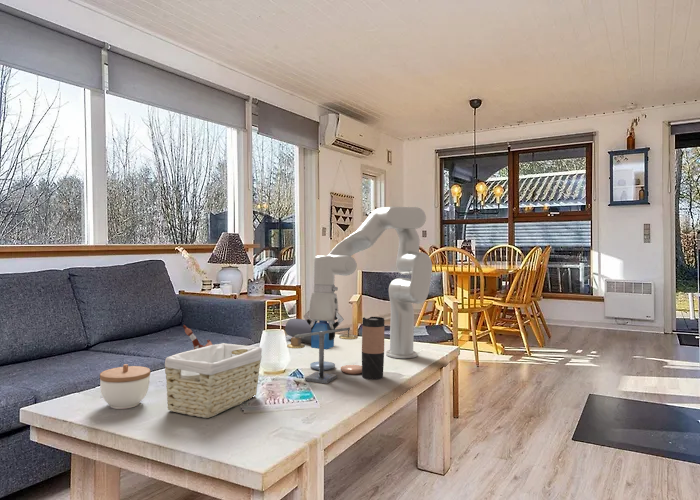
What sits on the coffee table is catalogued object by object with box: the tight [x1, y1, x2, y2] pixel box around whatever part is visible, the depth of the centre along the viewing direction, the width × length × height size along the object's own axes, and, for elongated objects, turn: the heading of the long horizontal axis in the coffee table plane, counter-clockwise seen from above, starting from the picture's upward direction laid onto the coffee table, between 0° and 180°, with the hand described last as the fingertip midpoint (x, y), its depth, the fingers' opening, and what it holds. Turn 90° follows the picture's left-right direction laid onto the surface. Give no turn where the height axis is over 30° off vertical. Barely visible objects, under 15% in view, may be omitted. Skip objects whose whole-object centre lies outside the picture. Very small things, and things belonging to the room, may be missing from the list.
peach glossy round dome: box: [340, 364, 362, 375], centre depth 173 cm, size 9×9×1 cm
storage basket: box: [164, 342, 263, 419], centre depth 136 cm, size 24×16×15 cm
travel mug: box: [361, 316, 385, 381], centre depth 167 cm, size 8×8×20 cm
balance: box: [286, 326, 359, 385], centre depth 163 cm, size 8×25×18 cm, turn 68°
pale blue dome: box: [309, 360, 336, 371], centre depth 178 cm, size 9×9×1 cm
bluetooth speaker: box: [284, 318, 319, 345], centre depth 224 cm, size 23×9×10 cm, turn 46°
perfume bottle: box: [310, 321, 335, 350], centre depth 178 cm, size 6×6×12 cm
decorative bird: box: [182, 324, 214, 350], centre depth 164 cm, size 28×18×15 cm, turn 5°
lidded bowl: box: [99, 363, 151, 410], centre depth 134 cm, size 13×13×11 cm
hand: (322, 338), depth 178 cm, fingers closed on perfume bottle, 6 cm apart
